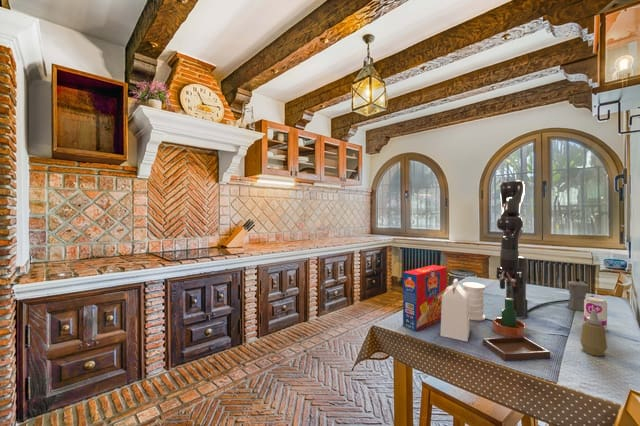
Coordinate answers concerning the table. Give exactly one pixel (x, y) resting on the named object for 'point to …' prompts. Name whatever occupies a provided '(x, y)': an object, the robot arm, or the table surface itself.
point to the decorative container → (475, 300)
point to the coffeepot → (577, 294)
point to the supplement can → (597, 305)
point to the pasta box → (423, 296)
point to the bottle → (508, 314)
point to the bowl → (508, 331)
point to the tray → (516, 348)
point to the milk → (455, 313)
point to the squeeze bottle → (593, 335)
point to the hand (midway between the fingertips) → (508, 291)
